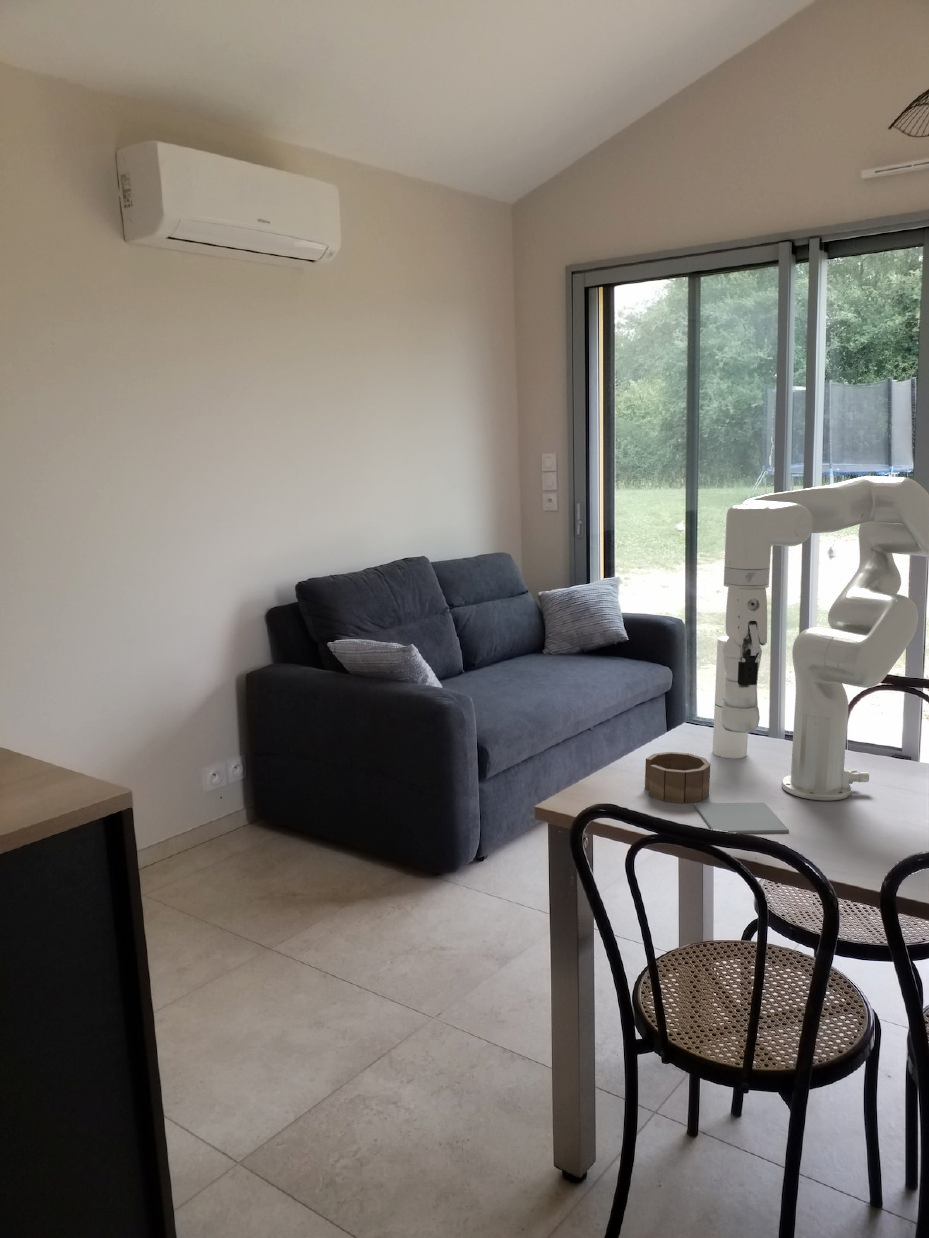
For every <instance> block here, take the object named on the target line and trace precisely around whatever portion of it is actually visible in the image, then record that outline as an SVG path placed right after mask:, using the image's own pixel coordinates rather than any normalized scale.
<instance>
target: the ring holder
mask: <svg viewBox="0 0 929 1238" xmlns="http://www.w3.org/2000/svg"><path fill="white" fill-rule="evenodd" d="M644 770H645V771H644V772H645V774H644V776H645V777H644V789H645V790H648V796H649V797H651V798H654V797H655V799H656V798H657V800H659V801H662V802H666V801H667V802H668V803H677V804H689V803H697V802H701V801H704V800H705V799H706V798H708V797H709V795H710V784H711V783H710V781H711V779H710V778H711V763H710V762H709V761H708V759H707V758H705V757H703V756H699V755H697V754H693V753H689V752H688V753H687V752H678V751H667V752H666V751H665V752H658V753H653V754H651V755H650V756H648V757H647V758H645V769H644ZM667 802H666V803H667Z"/></svg>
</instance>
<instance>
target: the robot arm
mask: <svg viewBox="0 0 929 1238" xmlns="http://www.w3.org/2000/svg"><path fill="white" fill-rule="evenodd" d="M725 521H726V524H725V543H724V548H725V549H724V566H723V567H724V568H723V569H724V570H723V587H727V588H728V589H727V596H726V608H725V609H726V610H725V633H726V636H728V637H730V636H732V638H733V640H734V642H736V643H737V644H738V645H740V658H741V662H738V684H739V685H756V684H757V685H758V680H757V674H758V675H759V671H758V654H759V649H760V646H765V645H766V644H767V643H768V596H767V588H769V587H770V575H771V574H770V571H771V554H772V552H771V551H772V546H779V547H780V546H781V547H795V546H799V545H801V544H803V543H804V542H806V541H808V539H810V537H811V535H812V534H825V533H835V532H838V531H841V530H845V529H848V528H850V527H854V526H859V528H858V545H859V549H858V550H859V565H858V568H857V570H856V572H855V573H854V575H853V576H852V577H851V579H850V581H848V583H847V585H845V587H844V588H843V589H842V591H841V592H840V594H839V595H838V596H837V598H836V599H835V600H834V602H833V603H832V605H831V607H830V609H829V611H828V614H827V622H828V625H829V627H823V626H822V627H820V626H816V627H815V626H813V627H810V628H805V630H802V631H800V633H799V634H798V635H797V636H796V638H795V639H794V642H793V644H792V650H791V652H792V663H793V670H794V676H795V677H794V678H795V679H794V680H795V697H794V698H795V703H794V717H793V731H792V732H793V735H792V747H791V748H792V750H791V765H790V766H791V767H790V774H789V775H786V776H784V777H783V778H782V780H781V788H782V789H783V790H784V791H785V792H787V793H789V794H791V795H793V796H796V797H799V798H803V799H807V800H813V801H823V802H825V801H839V800H843V799H846V798H848V797H849V796H851V794H852V786H851V785H852V784H853V783H868V782H869V781H870V774H869V772H867V771H864V772H863V771H858V770H857V769H853V768H852V769H847V768H846V767H845V759H846V746H847V745H846V744H847V731H848V730H847V729H848V718H849V717H848V715H849V699H848V695H847V692H846V689H845V687H844V685H849V686H852V687H856V688H864V689H870V688H873V687H876V686H878V685H880V684H881V683H882V682H883V680H885V678H886V677H887V675H888V674H889V673H890V671H891V670H892V669H893V667H894V666H895V665H896V663H897V661H898V660H899V659H900V657H901V656H902V654H903V653H904V652H905V650H906V649H907V648H908V646H909V644H910V643H911V642H912V641H913V638H914V636H915V635H916V631H917V628H918V624H919V611H918V607H917V605H916V603H915V602H914V601H913V600H912V599H911V598H909V597H907V596H905V595H902V594H899V591H900V589H901V586H902V577H901V574H900V571H899V568H898V566H897V565H896V563H895V560H894V554H897V555H908V556H916V557H928V558H929V493H928V491H927V490H926V489H925V488H924V487H923V486H922V485H921V484H920V483H918V482H917V481H916V480H914V479H912V478H909V477H906V476H905V477H903V476H902V477H901V476H880V475H879V476H878V475H867V476H866V475H865V476H859V477H856V478H851V479H847V480H844V481H840V482H836V483H831V484H828V485H824V486H815V487H809V488H803V489H797V490H791V491H783V492H775V493H768V494H764V495H759V496H756V497H752V498H749V499H746V500H744V501H742V502H741V503H740V504H735V505H733V506H731V507H730V508H728V510H727V512H726V520H725ZM744 641H750V644H744ZM745 648H750V649H747V651H746V653H745Z"/></svg>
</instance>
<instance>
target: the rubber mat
mask: <svg viewBox="0 0 929 1238" xmlns="http://www.w3.org/2000/svg"><path fill="white" fill-rule="evenodd" d="M693 806H694V808H695V809H696V811H697V812H698V813H699V815H700V816H701V818H702V819H703V820H704V822H705V823H706V825H707V826H708V827H709V829H710V828H712V829H718V830H722V831H728V832H737V833H736V834H775V833H776V834H781V833H782V834H784V833H788V834H789V833H790V829H789V828H788V827H787V826H786V825H785V823H783V821H782V820H781V819H780V818H779V817H778V816H777V815H776V814H775V813H774V811H773V810H772V809H771V808H770V807H769V806H768V805H767V804H766V802H713V803H712V802H708V803H707V802H704V803H703V802H702V803H700V802H699V803H697V802H694V805H693Z"/></svg>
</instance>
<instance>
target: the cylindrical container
mask: <svg viewBox="0 0 929 1238" xmlns="http://www.w3.org/2000/svg"><path fill="white" fill-rule="evenodd" d="M728 639H729V637H728V636H727V635H721V636H719V637H717V643H716V644H717V646H716V664H715V665H716V666H715V668H716V669H715V689H714V708H713V710H714V713H713V729H712V730H713V731H712V732H713V733H712V734H713V736H712V754H713V753H714V754H713V755H715V756H717V757H719V756H721V757H720V758H725V759H742V758H745V757H747V755H748V754H747V753H748V742H749V741H748V738H749V733H736V732H731V731H727V730H725V729H724V728H723V726H722V724H721V719H720V714H721V709H722V705H723V700H724V691H725V668H724V659H723V647H724V644H725V643H726V641H727V640H728Z"/></svg>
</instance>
